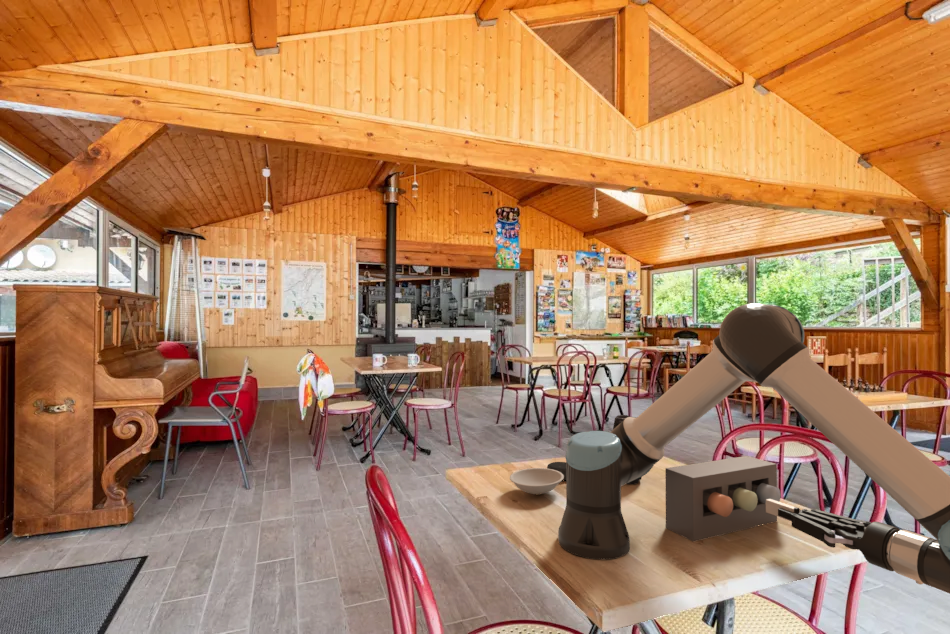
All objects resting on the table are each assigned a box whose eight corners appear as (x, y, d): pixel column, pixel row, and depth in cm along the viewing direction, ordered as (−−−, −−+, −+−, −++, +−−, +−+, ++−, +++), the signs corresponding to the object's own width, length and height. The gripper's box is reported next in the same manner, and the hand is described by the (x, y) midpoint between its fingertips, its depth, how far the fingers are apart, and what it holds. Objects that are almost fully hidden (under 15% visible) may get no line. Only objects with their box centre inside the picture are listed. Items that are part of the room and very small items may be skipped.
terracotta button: (719, 518, 105) (719, 498, 105) (696, 508, 110) (696, 489, 110) (733, 515, 107) (733, 495, 107) (710, 505, 112) (710, 486, 112)
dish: (530, 481, 148) (530, 464, 148) (573, 491, 139) (573, 473, 139) (498, 497, 134) (498, 478, 134) (543, 509, 125) (543, 489, 125)
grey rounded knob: (768, 507, 111) (768, 488, 111) (744, 498, 117) (744, 480, 117) (780, 504, 113) (780, 485, 113) (756, 496, 119) (756, 478, 119)
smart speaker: (578, 475, 154) (578, 463, 154) (571, 484, 146) (571, 470, 146) (551, 472, 158) (551, 459, 158) (543, 479, 150) (543, 466, 150)
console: (693, 541, 106) (693, 477, 107) (665, 527, 114) (665, 468, 114) (777, 521, 118) (776, 463, 118) (747, 510, 125) (746, 455, 125)
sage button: (744, 512, 108) (744, 493, 108) (721, 503, 114) (721, 484, 114) (757, 509, 110) (757, 490, 110) (734, 501, 115) (734, 482, 116)
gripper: (876, 580, 81) (747, 527, 103) (918, 565, 86) (787, 517, 108) (875, 535, 81) (747, 492, 103) (917, 522, 87) (787, 484, 108)
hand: (768, 505), depth 105 cm, fingers closed
